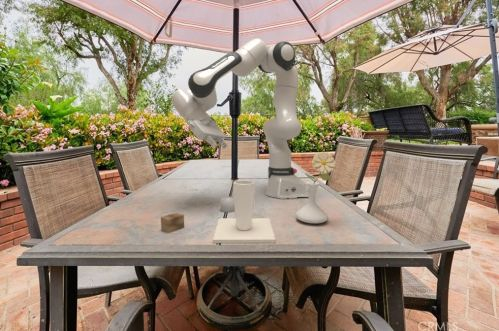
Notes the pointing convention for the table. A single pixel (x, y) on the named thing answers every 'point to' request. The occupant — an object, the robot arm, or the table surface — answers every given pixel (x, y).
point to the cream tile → (244, 232)
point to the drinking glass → (243, 203)
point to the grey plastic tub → (227, 204)
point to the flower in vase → (312, 210)
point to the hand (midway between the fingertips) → (220, 146)
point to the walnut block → (172, 222)
